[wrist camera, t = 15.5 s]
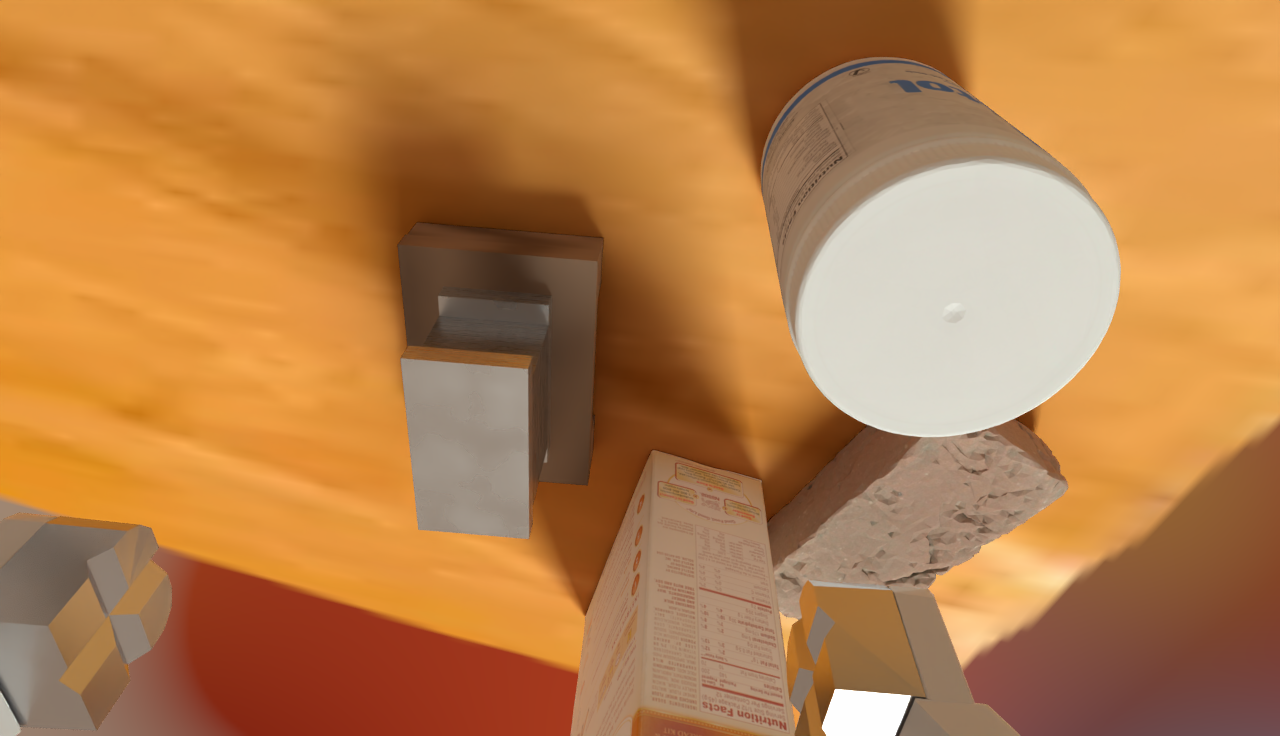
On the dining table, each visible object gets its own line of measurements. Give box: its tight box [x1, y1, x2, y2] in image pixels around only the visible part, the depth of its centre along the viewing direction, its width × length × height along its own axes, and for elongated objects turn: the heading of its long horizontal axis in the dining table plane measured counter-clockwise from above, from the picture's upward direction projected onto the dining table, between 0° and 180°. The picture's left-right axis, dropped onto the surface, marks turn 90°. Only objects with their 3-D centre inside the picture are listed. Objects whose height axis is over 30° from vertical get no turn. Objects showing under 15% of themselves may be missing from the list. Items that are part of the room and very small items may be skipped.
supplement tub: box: [761, 57, 1121, 437], centre depth 29 cm, size 10×10×15 cm
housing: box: [401, 286, 552, 539], centre depth 36 cm, size 9×5×6 cm, turn 176°
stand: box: [398, 222, 603, 485], centre depth 40 cm, size 9×13×3 cm
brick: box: [767, 419, 1068, 620], centre depth 44 cm, size 16×8×5 cm, turn 146°
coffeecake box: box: [571, 450, 796, 736], centre depth 40 cm, size 15×7×20 cm, turn 163°
